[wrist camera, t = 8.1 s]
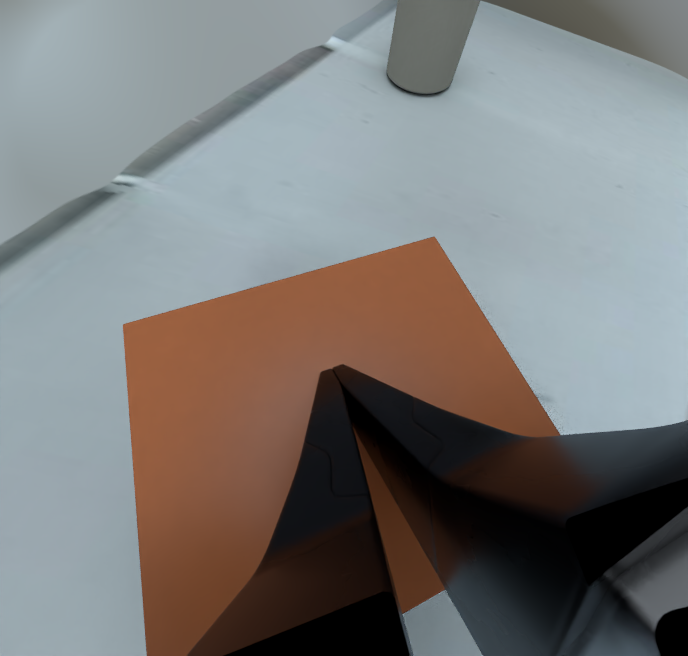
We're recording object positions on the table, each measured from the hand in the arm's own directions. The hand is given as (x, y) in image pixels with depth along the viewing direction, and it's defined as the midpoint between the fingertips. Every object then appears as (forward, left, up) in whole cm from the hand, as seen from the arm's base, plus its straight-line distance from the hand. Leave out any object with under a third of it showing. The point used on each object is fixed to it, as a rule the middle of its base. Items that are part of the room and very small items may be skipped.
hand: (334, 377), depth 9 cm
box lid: (-1, 0, -1) cm, 1 cm away
